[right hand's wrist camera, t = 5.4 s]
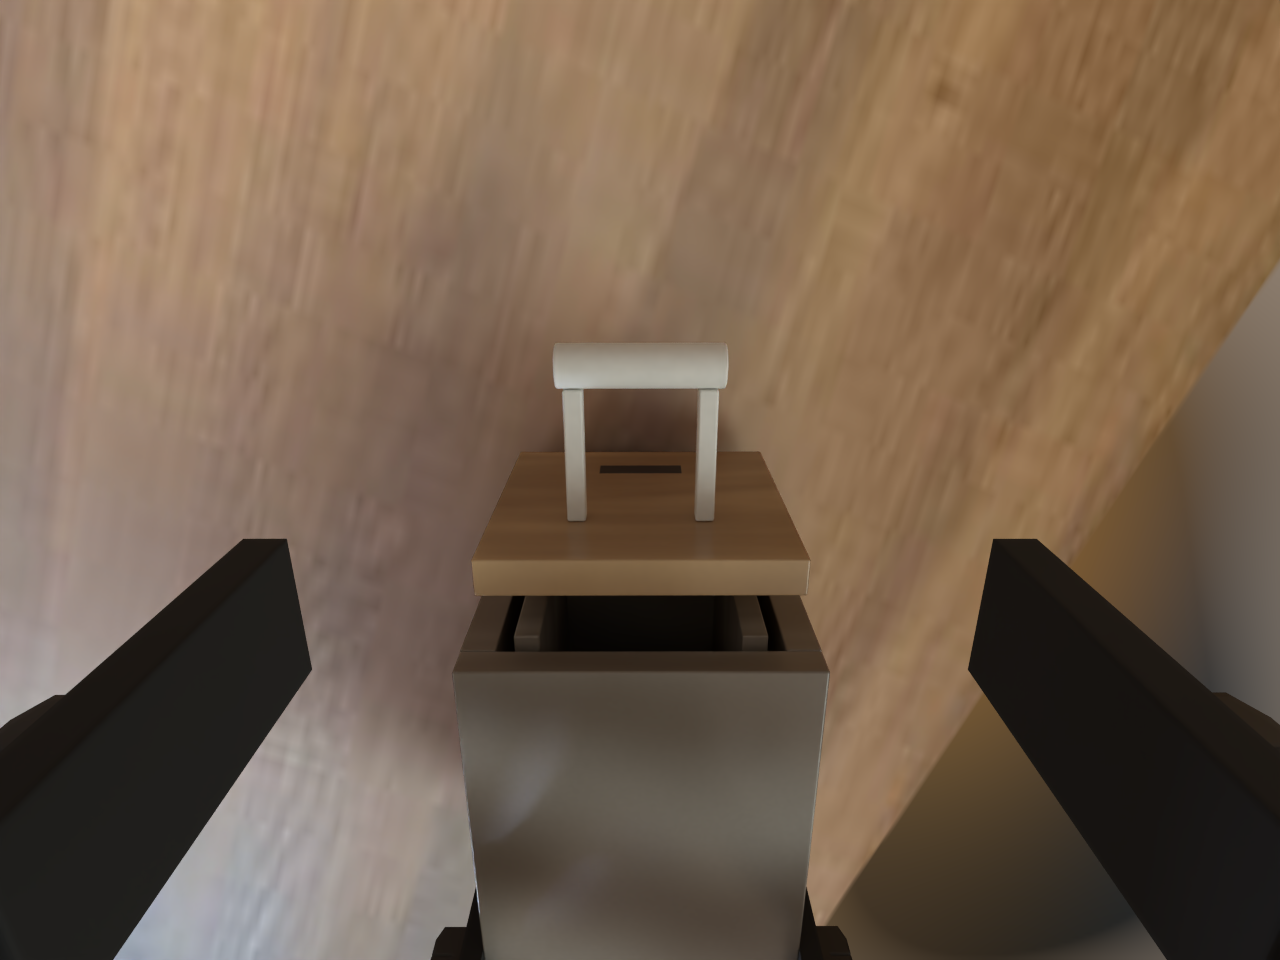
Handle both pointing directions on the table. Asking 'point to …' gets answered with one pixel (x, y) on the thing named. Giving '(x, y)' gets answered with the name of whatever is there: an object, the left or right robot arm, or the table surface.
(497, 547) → the drawer
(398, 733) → the table surface
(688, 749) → the cabinet
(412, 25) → the table surface
